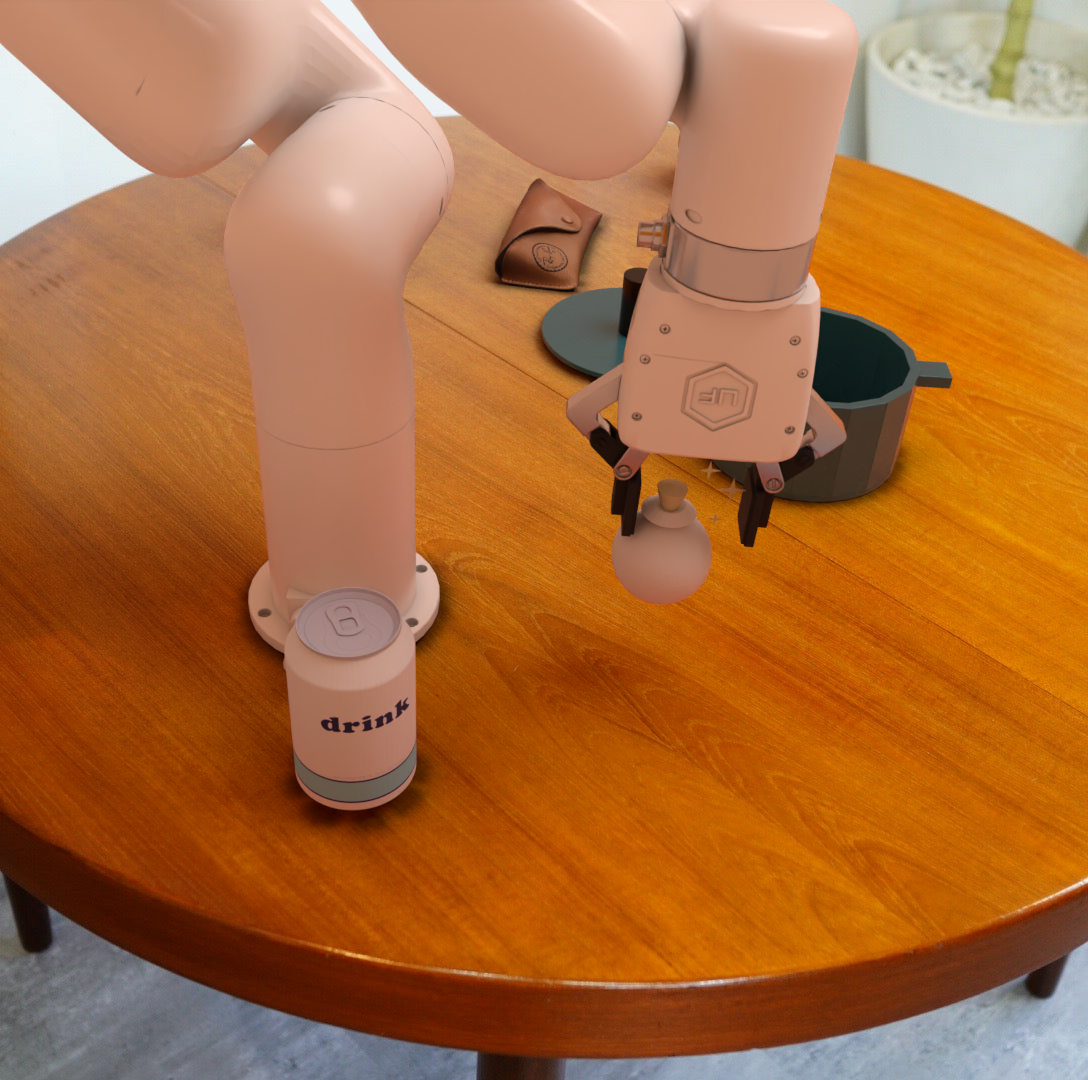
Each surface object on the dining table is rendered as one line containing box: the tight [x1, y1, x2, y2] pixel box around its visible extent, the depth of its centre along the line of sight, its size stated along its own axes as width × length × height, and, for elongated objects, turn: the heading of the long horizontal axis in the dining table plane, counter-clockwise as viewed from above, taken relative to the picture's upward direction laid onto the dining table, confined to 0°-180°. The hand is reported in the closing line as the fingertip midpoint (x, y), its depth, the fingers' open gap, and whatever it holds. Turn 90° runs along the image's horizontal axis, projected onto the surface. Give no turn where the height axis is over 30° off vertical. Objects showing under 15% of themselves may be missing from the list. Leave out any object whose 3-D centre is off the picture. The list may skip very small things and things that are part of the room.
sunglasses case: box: [494, 177, 603, 291], centre depth 131 cm, size 18×7×7 cm
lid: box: [541, 267, 648, 379], centre depth 116 cm, size 17×17×7 cm
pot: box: [710, 306, 954, 503], centre depth 104 cm, size 16×21×8 cm
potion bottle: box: [611, 461, 746, 605], centre depth 79 cm, size 6×7×10 cm
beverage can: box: [283, 587, 417, 811], centre depth 73 cm, size 7×7×12 cm
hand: (686, 525), depth 78 cm, fingers closed on potion bottle, 6 cm apart
